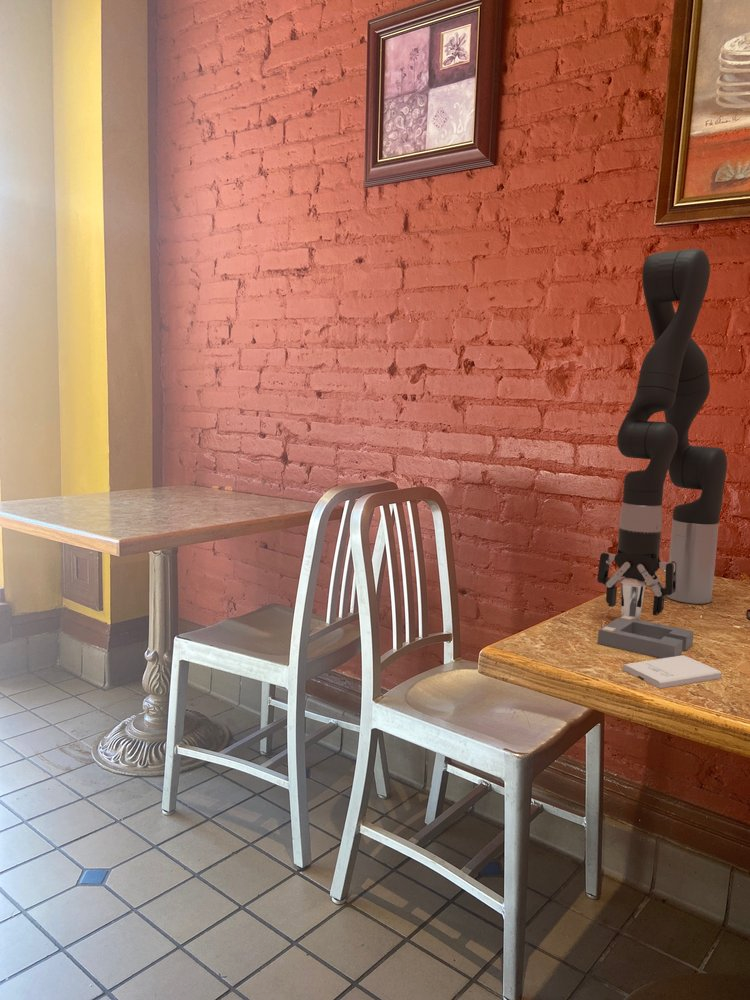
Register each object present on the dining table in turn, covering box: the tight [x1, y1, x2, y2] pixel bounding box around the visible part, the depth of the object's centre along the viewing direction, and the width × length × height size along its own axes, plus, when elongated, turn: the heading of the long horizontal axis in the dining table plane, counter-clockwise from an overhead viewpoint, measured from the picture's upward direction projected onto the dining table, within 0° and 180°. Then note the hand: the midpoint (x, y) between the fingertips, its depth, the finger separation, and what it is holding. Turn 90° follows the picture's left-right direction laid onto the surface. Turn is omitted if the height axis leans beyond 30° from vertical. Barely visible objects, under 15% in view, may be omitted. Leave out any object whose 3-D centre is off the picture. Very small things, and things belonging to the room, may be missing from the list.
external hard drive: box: [621, 654, 723, 689], centre depth 118 cm, size 2×8×12 cm
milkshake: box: [620, 577, 647, 620], centre depth 144 cm, size 4×5×10 cm
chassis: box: [597, 616, 695, 659], centre depth 132 cm, size 11×13×3 cm
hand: (633, 610), depth 144 cm, fingers open, 8 cm apart
